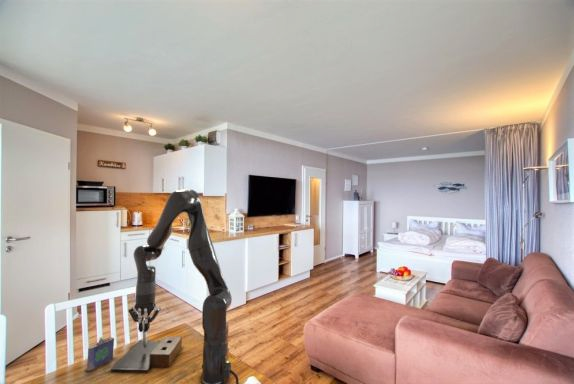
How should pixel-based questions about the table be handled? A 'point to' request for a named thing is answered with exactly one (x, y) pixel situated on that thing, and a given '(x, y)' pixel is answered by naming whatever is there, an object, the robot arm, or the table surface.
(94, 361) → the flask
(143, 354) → the tablet
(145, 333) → the stylus
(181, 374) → the table surface
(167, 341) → the pen stand
